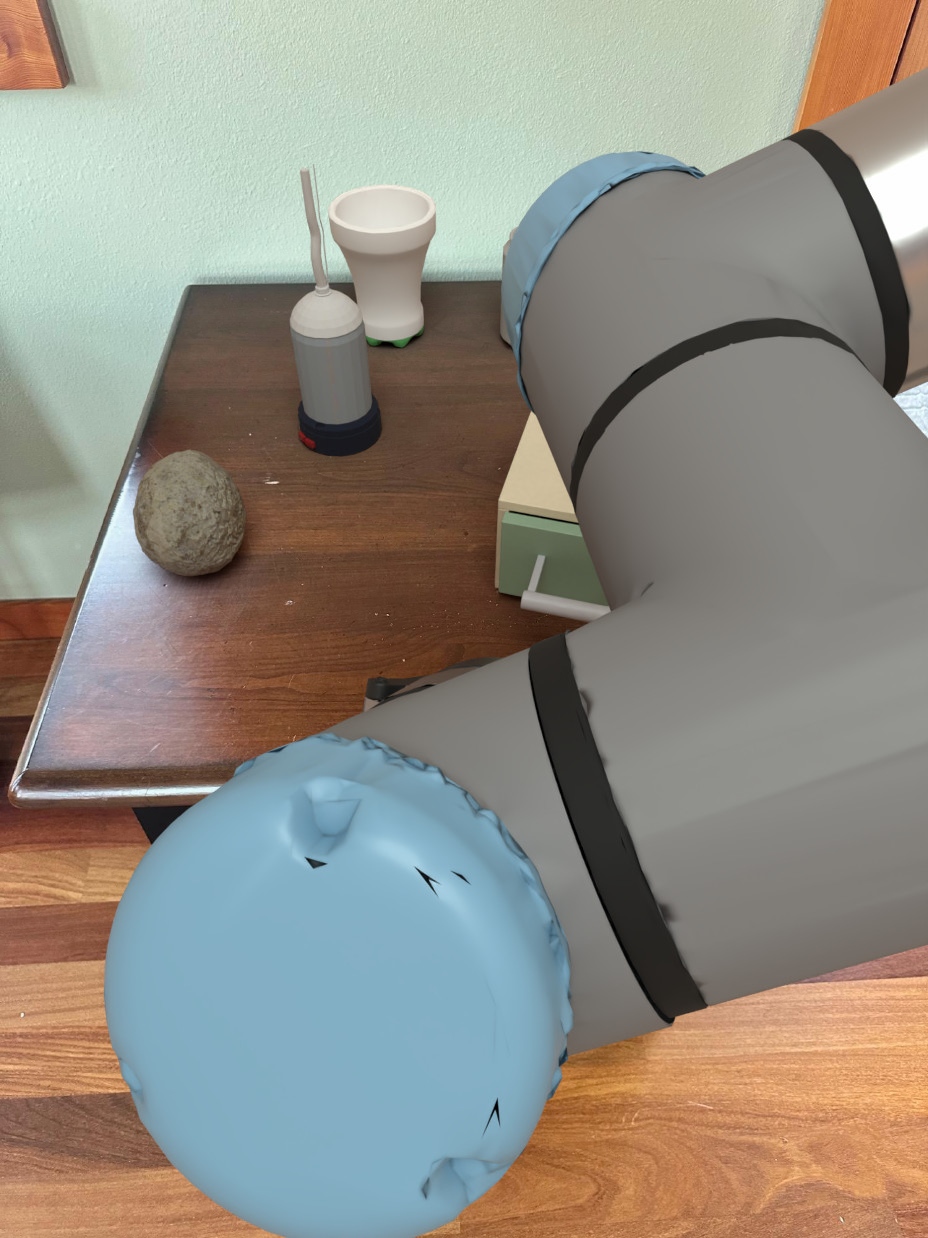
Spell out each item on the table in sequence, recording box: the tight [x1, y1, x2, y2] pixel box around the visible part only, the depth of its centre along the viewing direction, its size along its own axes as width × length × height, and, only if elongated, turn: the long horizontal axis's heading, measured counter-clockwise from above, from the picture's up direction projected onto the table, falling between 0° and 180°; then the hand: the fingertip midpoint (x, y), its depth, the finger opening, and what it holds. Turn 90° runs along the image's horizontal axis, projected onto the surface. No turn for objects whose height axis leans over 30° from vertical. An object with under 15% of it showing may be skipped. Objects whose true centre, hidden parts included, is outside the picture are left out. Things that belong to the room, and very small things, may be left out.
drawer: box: [498, 512, 611, 623], centre depth 68 cm, size 20×13×8 cm, turn 165°
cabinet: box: [494, 410, 578, 589], centre depth 70 cm, size 16×14×10 cm
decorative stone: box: [132, 448, 247, 577], centre depth 69 cm, size 10×8×10 cm
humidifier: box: [289, 163, 383, 457], centre depth 75 cm, size 8×8×25 cm
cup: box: [327, 184, 437, 348], centre depth 91 cm, size 11×11×14 cm
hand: (544, 687), depth 50 cm, fingers closed
